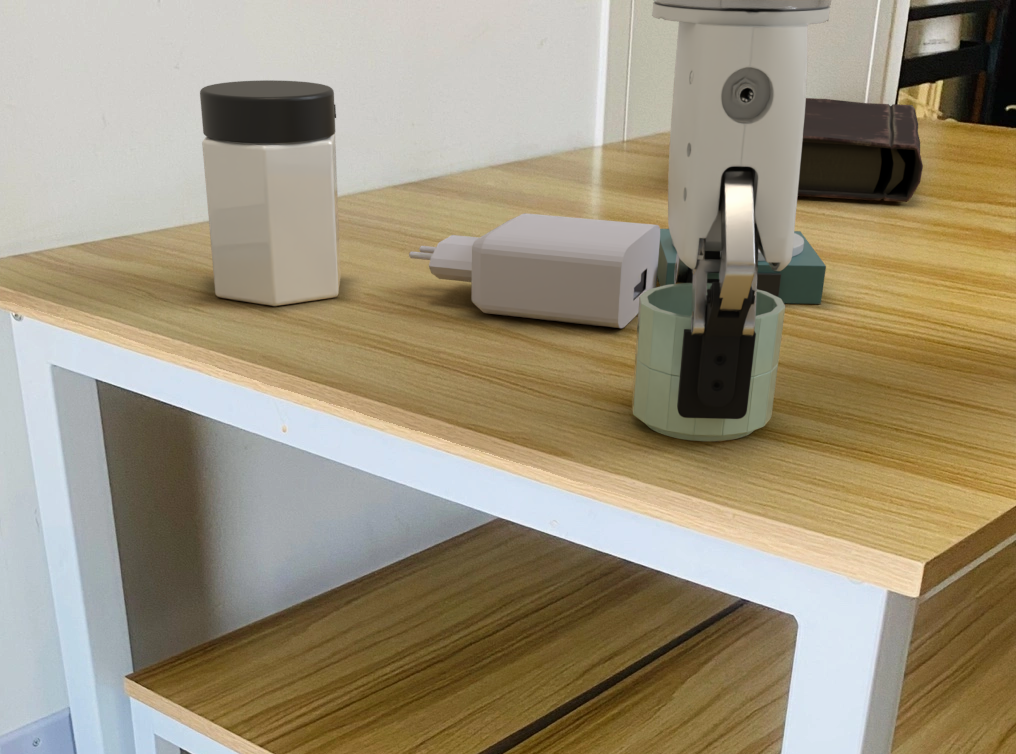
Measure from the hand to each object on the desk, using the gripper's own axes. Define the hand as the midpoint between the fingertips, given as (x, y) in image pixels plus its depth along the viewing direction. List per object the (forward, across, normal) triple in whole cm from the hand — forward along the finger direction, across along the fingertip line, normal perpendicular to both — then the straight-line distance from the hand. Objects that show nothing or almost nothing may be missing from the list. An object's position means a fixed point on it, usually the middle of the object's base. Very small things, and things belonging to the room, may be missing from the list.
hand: (703, 387), depth 67 cm
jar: (+2, +24, +25) cm, 35 cm away
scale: (+2, +28, -5) cm, 28 cm away
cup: (+2, 0, 0) cm, 2 cm away
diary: (+2, +69, -17) cm, 71 cm away
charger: (+2, +22, +9) cm, 24 cm away
